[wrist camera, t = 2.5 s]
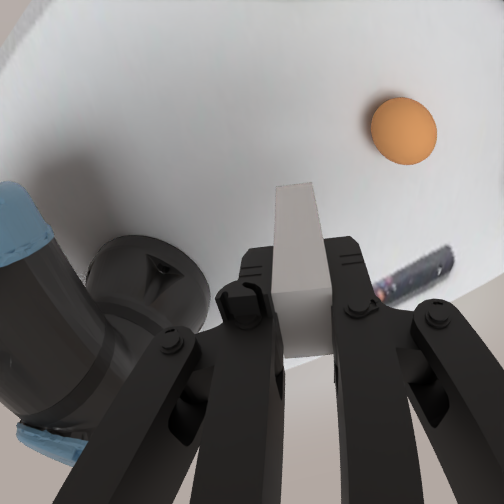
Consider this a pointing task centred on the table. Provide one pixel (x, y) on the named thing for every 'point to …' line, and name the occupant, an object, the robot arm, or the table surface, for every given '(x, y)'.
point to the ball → (404, 131)
